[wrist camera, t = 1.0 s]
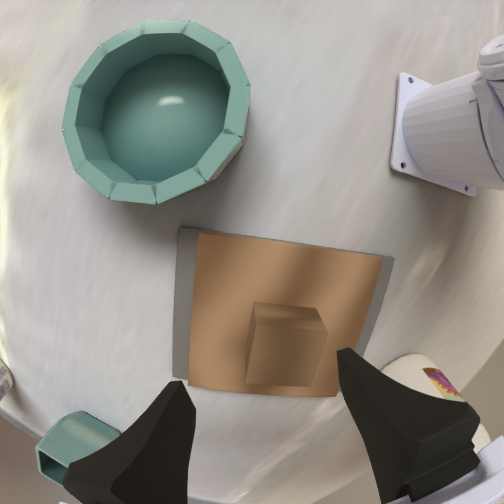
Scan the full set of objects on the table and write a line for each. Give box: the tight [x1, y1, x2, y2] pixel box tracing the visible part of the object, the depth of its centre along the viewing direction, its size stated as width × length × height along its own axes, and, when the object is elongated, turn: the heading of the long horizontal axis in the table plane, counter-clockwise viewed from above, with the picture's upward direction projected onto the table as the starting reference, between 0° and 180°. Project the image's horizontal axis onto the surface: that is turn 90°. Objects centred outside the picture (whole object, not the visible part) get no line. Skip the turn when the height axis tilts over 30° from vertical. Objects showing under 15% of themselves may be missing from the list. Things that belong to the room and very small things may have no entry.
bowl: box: [62, 19, 251, 205], centre depth 15 cm, size 11×11×4 cm
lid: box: [188, 231, 383, 397], centre depth 19 cm, size 13×13×4 cm
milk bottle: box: [381, 354, 504, 504], centre depth 15 cm, size 8×8×20 cm
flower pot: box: [35, 411, 120, 487], centre depth 21 cm, size 9×9×9 cm
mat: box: [173, 227, 395, 391], centre depth 22 cm, size 16×13×1 cm
